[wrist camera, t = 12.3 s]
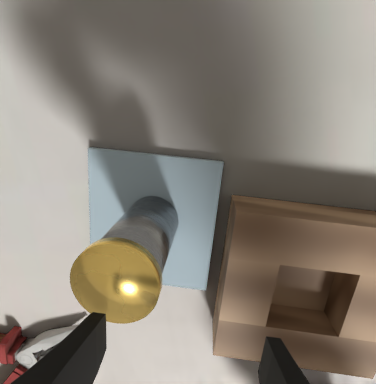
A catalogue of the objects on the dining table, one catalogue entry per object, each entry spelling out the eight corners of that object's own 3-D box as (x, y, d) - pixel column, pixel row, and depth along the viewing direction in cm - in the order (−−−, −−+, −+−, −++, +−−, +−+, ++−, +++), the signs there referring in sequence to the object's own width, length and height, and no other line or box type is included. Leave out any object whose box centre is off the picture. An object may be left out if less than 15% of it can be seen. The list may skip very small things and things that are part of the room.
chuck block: (348, 339, 22) (372, 378, 19) (212, 319, 23) (213, 354, 19) (394, 213, 18) (434, 234, 15) (231, 194, 19) (236, 211, 16)
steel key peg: (180, 194, 19) (157, 247, 11) (181, 246, 20) (160, 326, 12) (124, 192, 19) (63, 242, 12) (128, 243, 20) (76, 319, 13)
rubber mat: (206, 286, 22) (206, 290, 21) (94, 271, 22) (91, 275, 22) (223, 161, 18) (223, 162, 18) (91, 147, 19) (87, 147, 18)
